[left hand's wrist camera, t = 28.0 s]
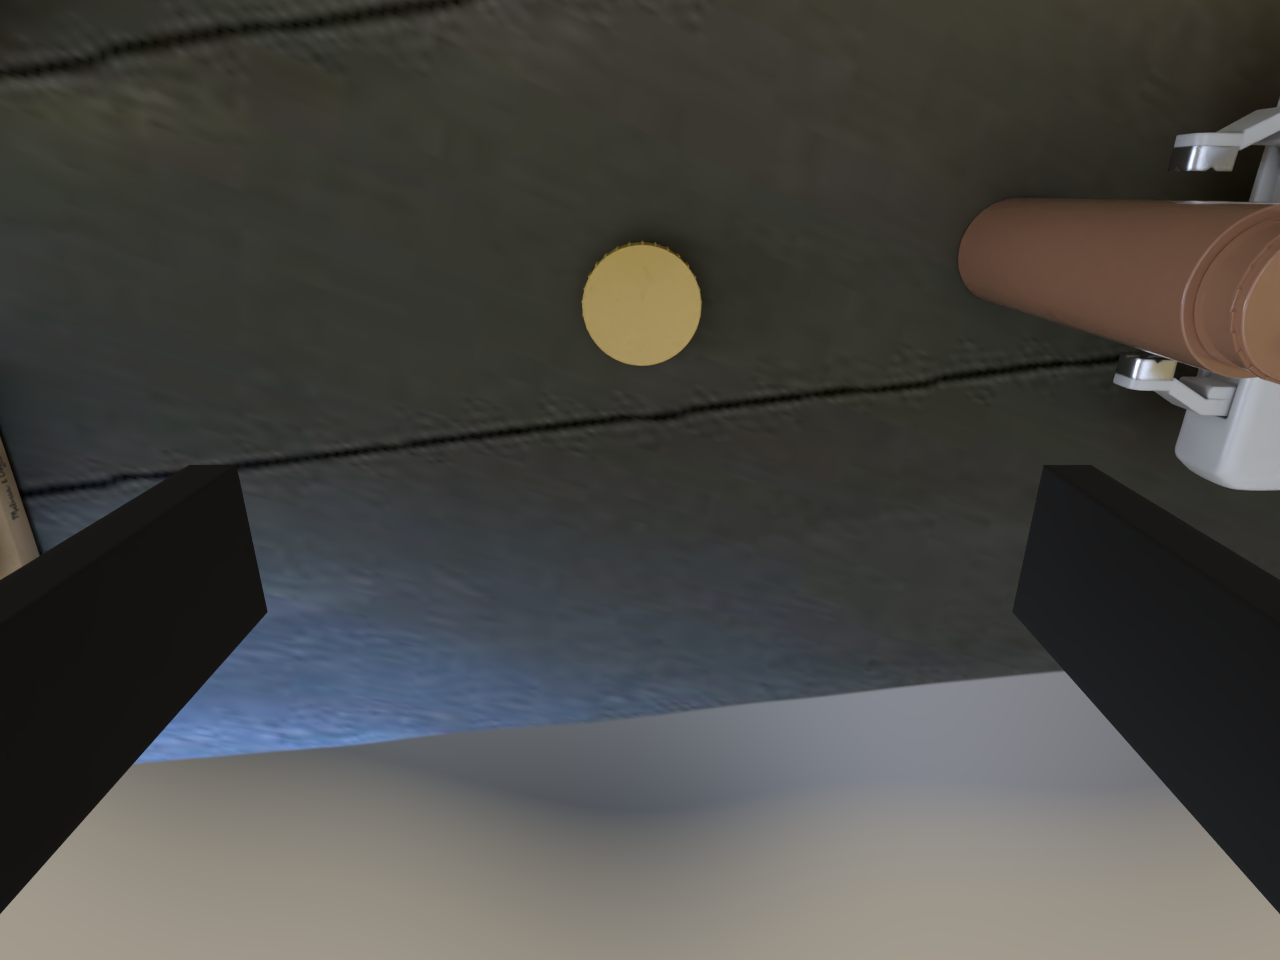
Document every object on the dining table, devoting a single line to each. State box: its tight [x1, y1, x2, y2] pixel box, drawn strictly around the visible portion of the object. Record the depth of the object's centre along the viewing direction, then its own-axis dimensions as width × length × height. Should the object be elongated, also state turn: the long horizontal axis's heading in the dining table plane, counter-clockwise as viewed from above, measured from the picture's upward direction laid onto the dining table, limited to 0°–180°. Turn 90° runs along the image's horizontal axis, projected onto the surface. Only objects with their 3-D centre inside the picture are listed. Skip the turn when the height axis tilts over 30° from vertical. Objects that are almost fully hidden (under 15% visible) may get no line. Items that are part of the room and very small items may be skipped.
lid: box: [582, 240, 702, 366], centre depth 39 cm, size 6×6×2 cm
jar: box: [958, 197, 1280, 385], centre depth 30 cm, size 5×5×20 cm
